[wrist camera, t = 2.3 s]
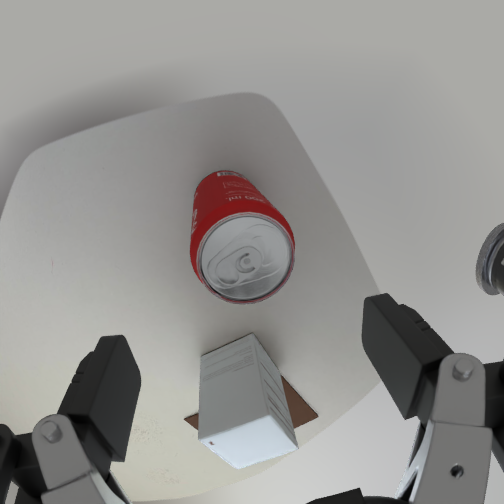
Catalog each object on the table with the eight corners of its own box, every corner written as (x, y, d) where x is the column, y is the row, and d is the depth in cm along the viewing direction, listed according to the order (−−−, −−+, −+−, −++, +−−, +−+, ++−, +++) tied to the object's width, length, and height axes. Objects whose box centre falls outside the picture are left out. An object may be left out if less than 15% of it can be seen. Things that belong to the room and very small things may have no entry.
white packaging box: (229, 391, 39) (235, 471, 27) (199, 354, 36) (195, 440, 24) (280, 370, 38) (300, 450, 26) (254, 330, 35) (270, 415, 24)
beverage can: (187, 179, 28) (155, 224, 15) (255, 161, 28) (288, 189, 15) (204, 237, 31) (193, 325, 17) (269, 220, 31) (309, 296, 17)
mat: (280, 374, 38) (280, 375, 38) (318, 416, 42) (318, 417, 42) (184, 418, 40) (184, 419, 40) (231, 452, 44) (231, 453, 44)
